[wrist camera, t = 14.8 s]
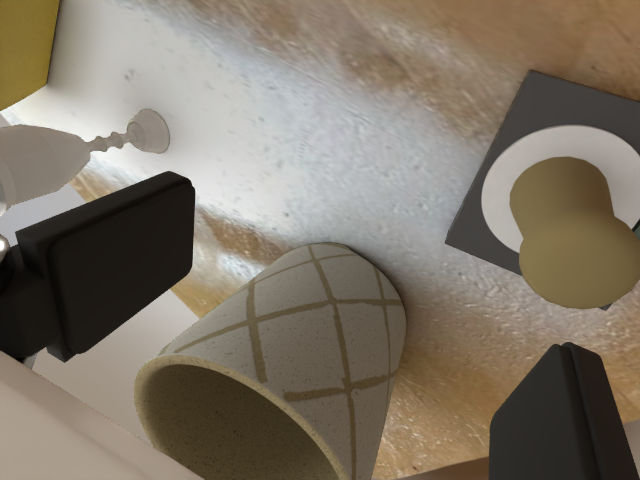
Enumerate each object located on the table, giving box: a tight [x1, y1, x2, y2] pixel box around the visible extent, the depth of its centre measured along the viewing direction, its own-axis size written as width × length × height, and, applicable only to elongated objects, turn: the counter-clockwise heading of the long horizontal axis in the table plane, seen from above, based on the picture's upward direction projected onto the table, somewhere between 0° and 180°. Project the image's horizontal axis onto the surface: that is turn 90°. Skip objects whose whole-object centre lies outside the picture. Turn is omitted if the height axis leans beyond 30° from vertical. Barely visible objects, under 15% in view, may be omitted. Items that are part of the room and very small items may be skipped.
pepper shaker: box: [509, 156, 640, 309], centre depth 22 cm, size 6×6×11 cm
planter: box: [134, 243, 407, 480], centre depth 35 cm, size 19×19×20 cm
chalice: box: [0, 109, 170, 216], centre depth 36 cm, size 7×7×18 cm
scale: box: [445, 69, 640, 311], centre depth 28 cm, size 14×13×3 cm
